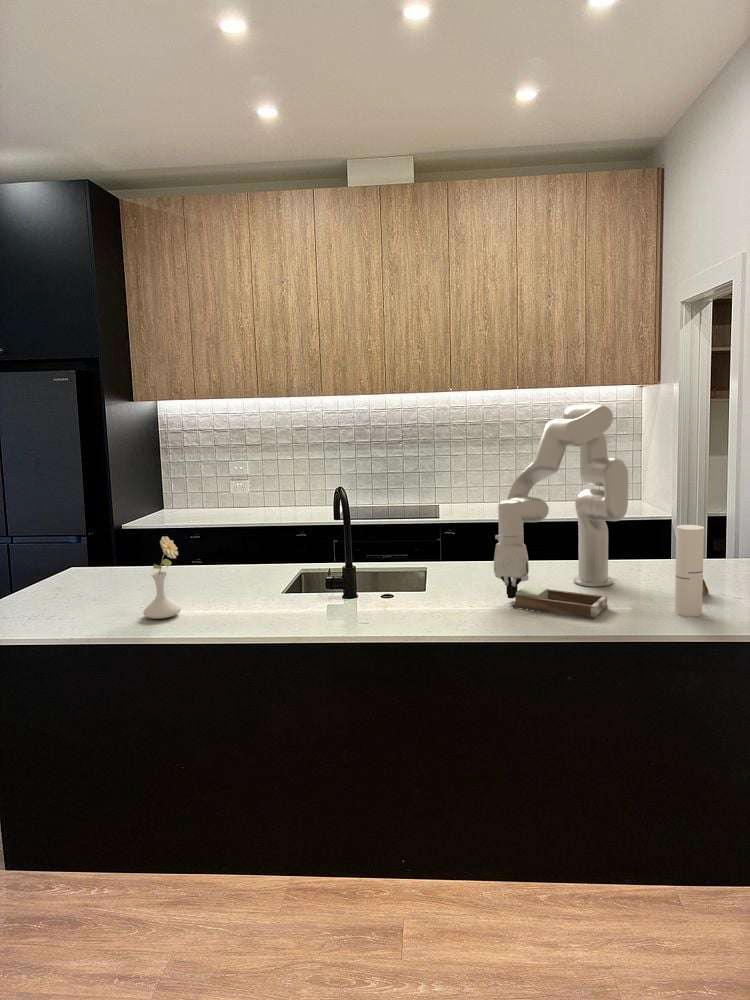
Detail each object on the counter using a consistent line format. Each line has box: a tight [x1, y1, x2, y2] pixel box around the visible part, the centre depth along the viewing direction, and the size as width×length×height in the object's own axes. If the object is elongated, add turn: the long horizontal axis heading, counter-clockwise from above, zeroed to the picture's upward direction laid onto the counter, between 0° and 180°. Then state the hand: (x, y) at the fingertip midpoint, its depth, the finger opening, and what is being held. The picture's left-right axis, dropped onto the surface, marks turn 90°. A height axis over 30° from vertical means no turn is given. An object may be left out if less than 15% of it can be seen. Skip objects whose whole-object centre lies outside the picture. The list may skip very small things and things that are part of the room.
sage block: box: [516, 585, 549, 599], centre depth 220 cm, size 8×7×4 cm
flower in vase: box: [143, 535, 182, 620], centre depth 223 cm, size 13×11×25 cm
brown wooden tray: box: [510, 588, 608, 621], centre depth 215 cm, size 13×25×4 cm, turn 55°
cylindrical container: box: [674, 524, 705, 617], centre depth 204 cm, size 7×7×25 cm
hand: (512, 597), depth 224 cm, fingers closed
